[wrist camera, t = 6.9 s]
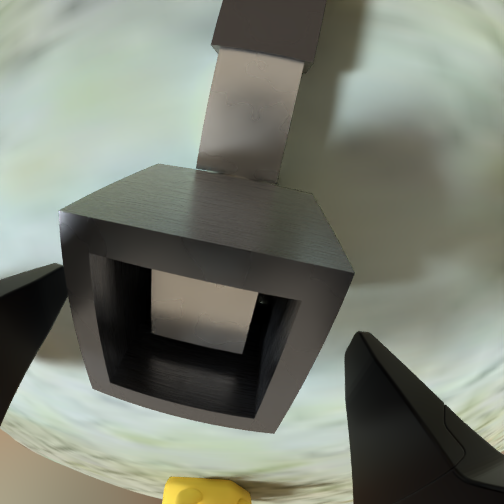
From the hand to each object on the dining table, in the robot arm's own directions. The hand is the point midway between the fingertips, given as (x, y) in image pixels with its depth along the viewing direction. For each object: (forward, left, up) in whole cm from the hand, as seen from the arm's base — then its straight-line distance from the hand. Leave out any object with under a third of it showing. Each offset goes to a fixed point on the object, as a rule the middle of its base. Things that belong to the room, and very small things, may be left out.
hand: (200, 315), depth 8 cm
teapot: (-41, -3, -7) cm, 42 cm away
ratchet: (+5, 0, -7) cm, 8 cm away
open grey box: (0, 0, -4) cm, 4 cm away
